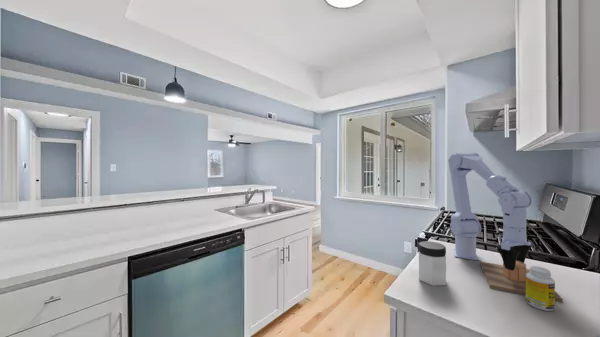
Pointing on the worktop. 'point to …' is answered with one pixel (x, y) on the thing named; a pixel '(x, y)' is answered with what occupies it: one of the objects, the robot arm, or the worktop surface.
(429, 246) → the jar
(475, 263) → the worktop surface
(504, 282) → the post board
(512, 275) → the brown rounded block
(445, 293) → the worktop surface
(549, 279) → the supplement bottle
